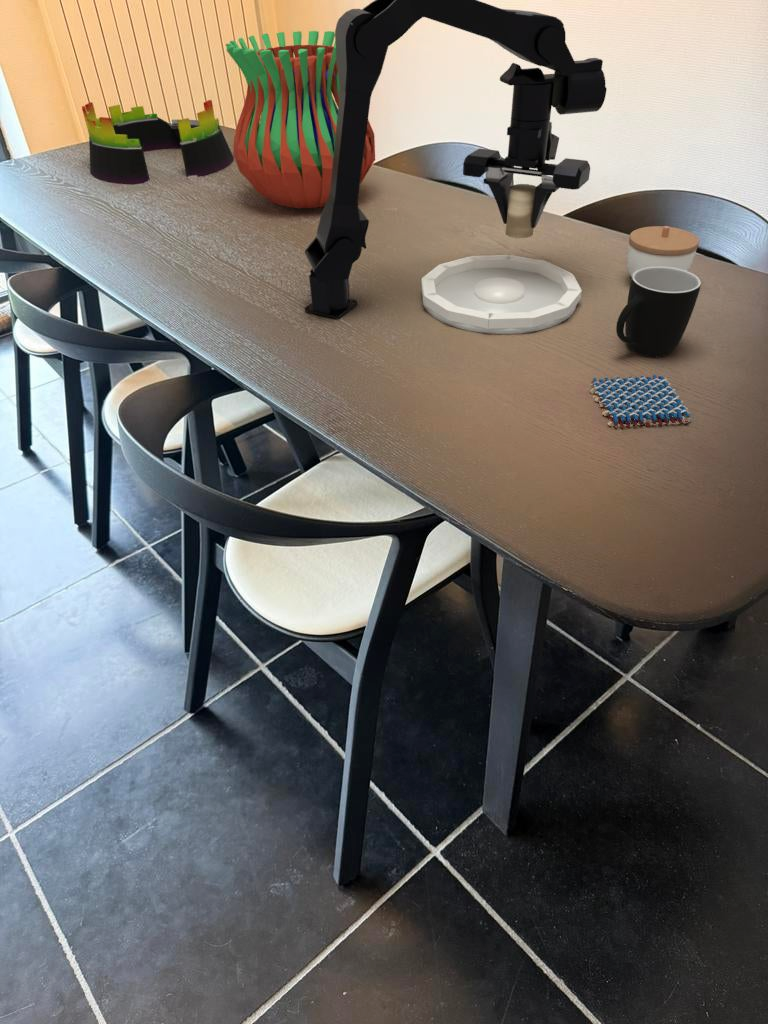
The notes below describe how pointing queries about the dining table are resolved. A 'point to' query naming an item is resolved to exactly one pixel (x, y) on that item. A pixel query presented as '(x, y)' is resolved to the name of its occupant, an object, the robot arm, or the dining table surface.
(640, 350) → the mug
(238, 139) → the vase
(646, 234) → the lidded jar
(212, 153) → the decorative container
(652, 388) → the woven mat
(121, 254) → the dining table surface
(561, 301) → the ring tray
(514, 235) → the tan rounded cylinder
